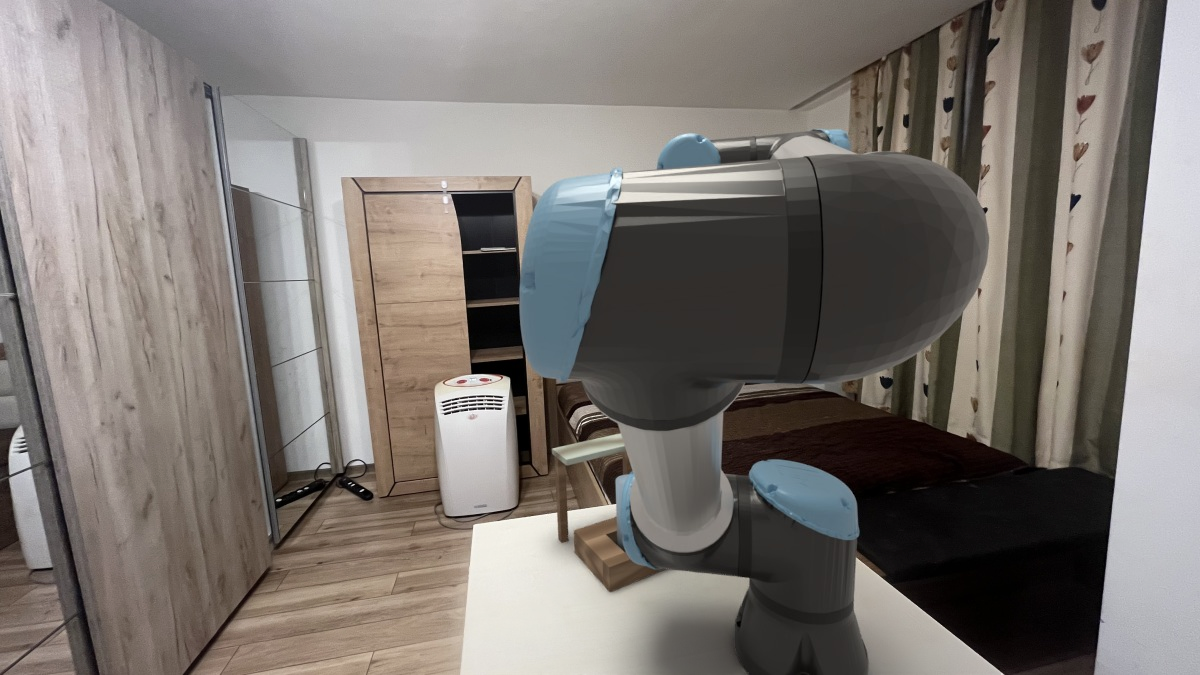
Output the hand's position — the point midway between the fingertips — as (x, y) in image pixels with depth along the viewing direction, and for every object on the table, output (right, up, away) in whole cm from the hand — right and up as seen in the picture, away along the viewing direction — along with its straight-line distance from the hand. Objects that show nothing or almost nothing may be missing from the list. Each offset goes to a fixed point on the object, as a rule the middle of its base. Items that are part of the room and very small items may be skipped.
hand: (692, 389), depth 74 cm
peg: (-9, -29, +4) cm, 30 cm away
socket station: (-11, -28, +7) cm, 31 cm away
